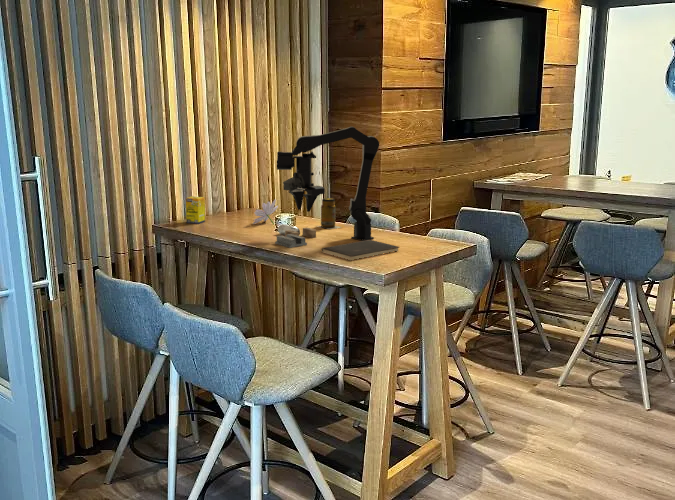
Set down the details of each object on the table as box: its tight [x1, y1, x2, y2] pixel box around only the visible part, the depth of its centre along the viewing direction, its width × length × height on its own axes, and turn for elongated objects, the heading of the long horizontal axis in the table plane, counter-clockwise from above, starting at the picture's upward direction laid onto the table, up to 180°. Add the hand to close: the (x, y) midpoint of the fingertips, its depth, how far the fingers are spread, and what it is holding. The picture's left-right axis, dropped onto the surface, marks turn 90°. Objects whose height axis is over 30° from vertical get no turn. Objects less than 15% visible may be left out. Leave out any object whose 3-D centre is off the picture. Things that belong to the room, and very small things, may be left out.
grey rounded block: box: [284, 226, 317, 239], centre depth 264 cm, size 6×10×3 cm, turn 131°
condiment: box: [317, 197, 343, 230], centre depth 285 cm, size 7×8×12 cm
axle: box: [277, 223, 301, 236], centre depth 268 cm, size 9×4×4 cm, turn 42°
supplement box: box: [185, 195, 206, 225], centre depth 292 cm, size 6×6×11 cm
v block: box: [274, 234, 308, 249], centre depth 253 cm, size 9×8×3 cm
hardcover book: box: [321, 239, 400, 261], centre depth 242 cm, size 16×23×2 cm
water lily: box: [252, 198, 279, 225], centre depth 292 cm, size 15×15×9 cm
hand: (303, 210), depth 261 cm, fingers open, 5 cm apart
